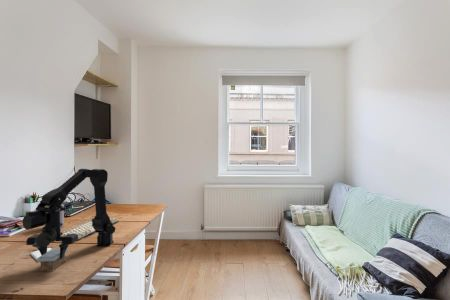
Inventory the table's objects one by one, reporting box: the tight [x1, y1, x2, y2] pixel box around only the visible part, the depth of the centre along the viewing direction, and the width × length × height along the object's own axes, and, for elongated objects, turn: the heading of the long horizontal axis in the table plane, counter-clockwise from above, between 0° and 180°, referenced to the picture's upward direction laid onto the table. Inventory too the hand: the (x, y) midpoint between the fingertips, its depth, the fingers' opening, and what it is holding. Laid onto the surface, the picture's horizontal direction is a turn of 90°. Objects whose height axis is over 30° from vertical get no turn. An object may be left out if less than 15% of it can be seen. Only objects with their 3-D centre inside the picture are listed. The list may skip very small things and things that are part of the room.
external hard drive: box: [30, 247, 52, 261], centre depth 125 cm, size 2×8×12 cm
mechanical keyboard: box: [61, 217, 120, 241], centre depth 163 cm, size 38×19×3 cm, turn 172°
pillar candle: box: [48, 203, 65, 229], centre depth 167 cm, size 10×10×15 cm
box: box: [40, 253, 66, 272], centre depth 114 cm, size 5×9×4 cm, turn 2°
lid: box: [36, 247, 68, 262], centre depth 114 cm, size 7×10×1 cm, turn 3°
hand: (53, 259), depth 114 cm, fingers closed on lid, 7 cm apart
